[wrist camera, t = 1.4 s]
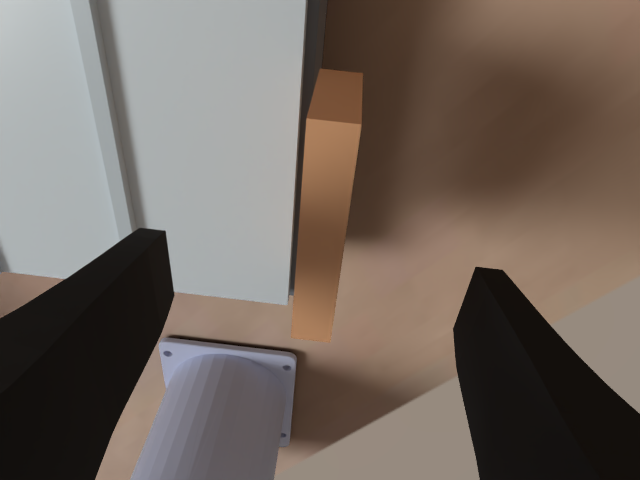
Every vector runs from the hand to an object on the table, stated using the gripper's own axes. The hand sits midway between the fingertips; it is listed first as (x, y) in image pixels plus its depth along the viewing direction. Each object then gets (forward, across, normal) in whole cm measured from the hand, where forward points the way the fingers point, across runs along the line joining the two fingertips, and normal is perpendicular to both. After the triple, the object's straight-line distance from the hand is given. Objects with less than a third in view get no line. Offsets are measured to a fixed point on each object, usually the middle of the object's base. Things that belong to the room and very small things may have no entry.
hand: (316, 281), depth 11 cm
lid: (+5, +9, 0) cm, 10 cm away
